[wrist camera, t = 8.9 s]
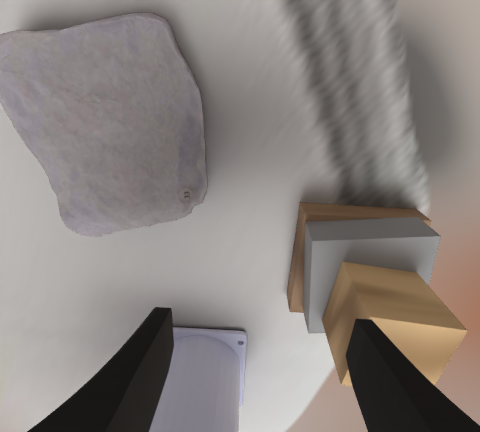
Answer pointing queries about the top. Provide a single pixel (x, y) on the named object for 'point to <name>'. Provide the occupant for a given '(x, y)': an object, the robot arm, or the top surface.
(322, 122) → the top surface
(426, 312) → the oak cube
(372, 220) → the top slab
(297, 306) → the bottom slab
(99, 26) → the stone block
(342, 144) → the top surface
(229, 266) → the top surface
